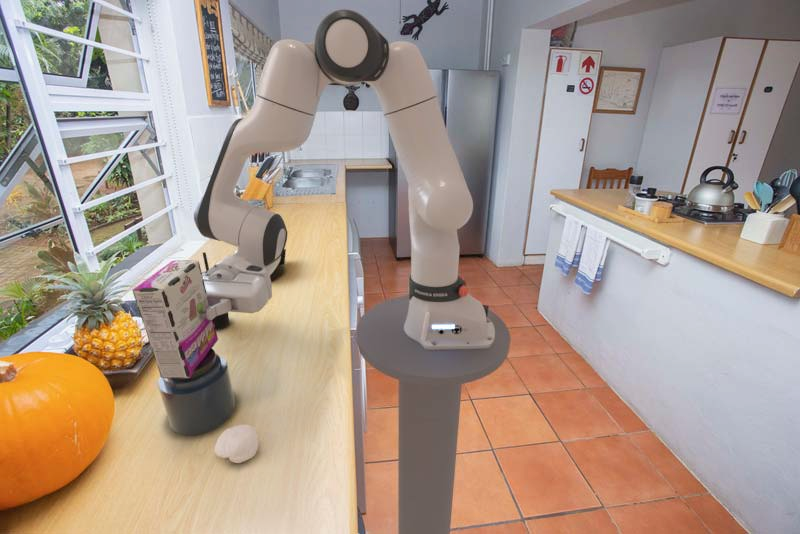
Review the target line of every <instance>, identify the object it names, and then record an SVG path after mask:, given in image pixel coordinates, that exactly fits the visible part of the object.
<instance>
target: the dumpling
mask: <svg viewBox="0 0 800 534" xmlns="http://www.w3.org/2000/svg"><path fill="white" fill-rule="evenodd" d="M214 443H215V445H214V453H215V455H216V456H217V457H218V458H221V459H227V458H228V459H229V461H230V462H231V463H234V464H241V463H245V462H246V461H248V460H250V459H252V458H253V457H254V456H255V455H256V454H257V451H258V449H259V439H258V436H257V431H256V429H255V428H254V427H253V426H251V425H249V424H238V425H235V426H230V427H228V428H225V430H223V431H222V433H221V434H220V435H219V436H218V438H217V440H215V441H214Z"/></svg>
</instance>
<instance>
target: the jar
mask: <svg viewBox="0 0 800 534" xmlns="http://www.w3.org/2000/svg"><path fill="white" fill-rule="evenodd" d="M157 386H158V387H157V388H158V390H159V394H160V397H161V400H162V403H163V406H164V410H165V413H166V415H167V416H166V417H167V419H168V420H167V421H168V423H169V427H170V429H171V430H172V431H173V432H174V433H175V434H177V435H180V436H187V437H192V436H199V435H203V434H207V433H209V432H211V431H213V430H214V431H215V430H216V429H217V428H219V427H220V426H222V425H224V423H226V422H227V421H228V420H229V419H230V418H231V416H232V415H233V414H234V412H235V410H236V399H235V393H234V390H233V385H232V381H231V375H230V371H229V366H228V362H227V361H226V359H225V358H223V357H221V356H220V354H218V353H216V351H215V349H214V348H212V349H211V350H210V351H209V353H208V354H207V355H206V357H205V358H204V359H203V361H202V362H201V363H200V365H199V366H198V367H197V369H196V370H195V372H194V373H193V374H192V375H191V377H190V378H170V379H167V378H161V375H159V378H158V380H157Z"/></svg>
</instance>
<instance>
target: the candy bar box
mask: <svg viewBox="0 0 800 534" xmlns="http://www.w3.org/2000/svg"><path fill="white" fill-rule="evenodd" d="M202 272H203V271H202V269H201V264H200V260H197V259H196V260H189V259H188V260H179V259H176V260H171V261H170V262H168V263H167V264H166V265H165V266H163V267H162V268H161V269H158V270H157V271H156V272H155V273H154V274H152V275H151V276H149V277H148V278H147V279H145V280H144V281H143V282H140V284H137V286H135V287H134V288H132V290H131V291H132V293H133V294H132V295H133V297H134V300H135V302H136V306H137V308H138V311H139V315H140V318H141V321H142V324H143V327H144V329H145V332H146V335H147V338H148V342H149V345H150V348H151V350H152V354H153V357H154V360H155V363H156V366H157V369H158V372H159V376H161V378H167V379H170V378H190V377H191V375H192V374H193V373H194V372H195V370H196V369H197V367H198V366H199V365H200V363H201V362H202V361H203V359H204V358H205V357H206V355H207V354H208V353H209V351H210V350H211V349H213V347H214V346H215V345H216V344H217V342H218V340H219V337H218V334H217V329H215V325H214V321H213V319H212V320H206V319H202V315H201V311H202V310H203V309H205V308H206V307H207V306H210V305H209V301H208V296H207V293H206V289H205V285H204V280H203V276H202Z"/></svg>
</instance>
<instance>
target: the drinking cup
mask: <svg viewBox="0 0 800 534" xmlns="http://www.w3.org/2000/svg"><path fill="white" fill-rule="evenodd" d="M202 257H203V262H204V267H205V271H201V272H202V276H206V274H207V272H208V270H209V269H210V267H209V262H208V257H207V252H205V251H204V252H202ZM229 317H230V316H229V312H227V313H225V314H222V315H219V316H216V317H215V318H213V321H214V325H215V329H216V330H222V329H224V328H226V327H227V326H228V325H229V324H230V318H229Z"/></svg>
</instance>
